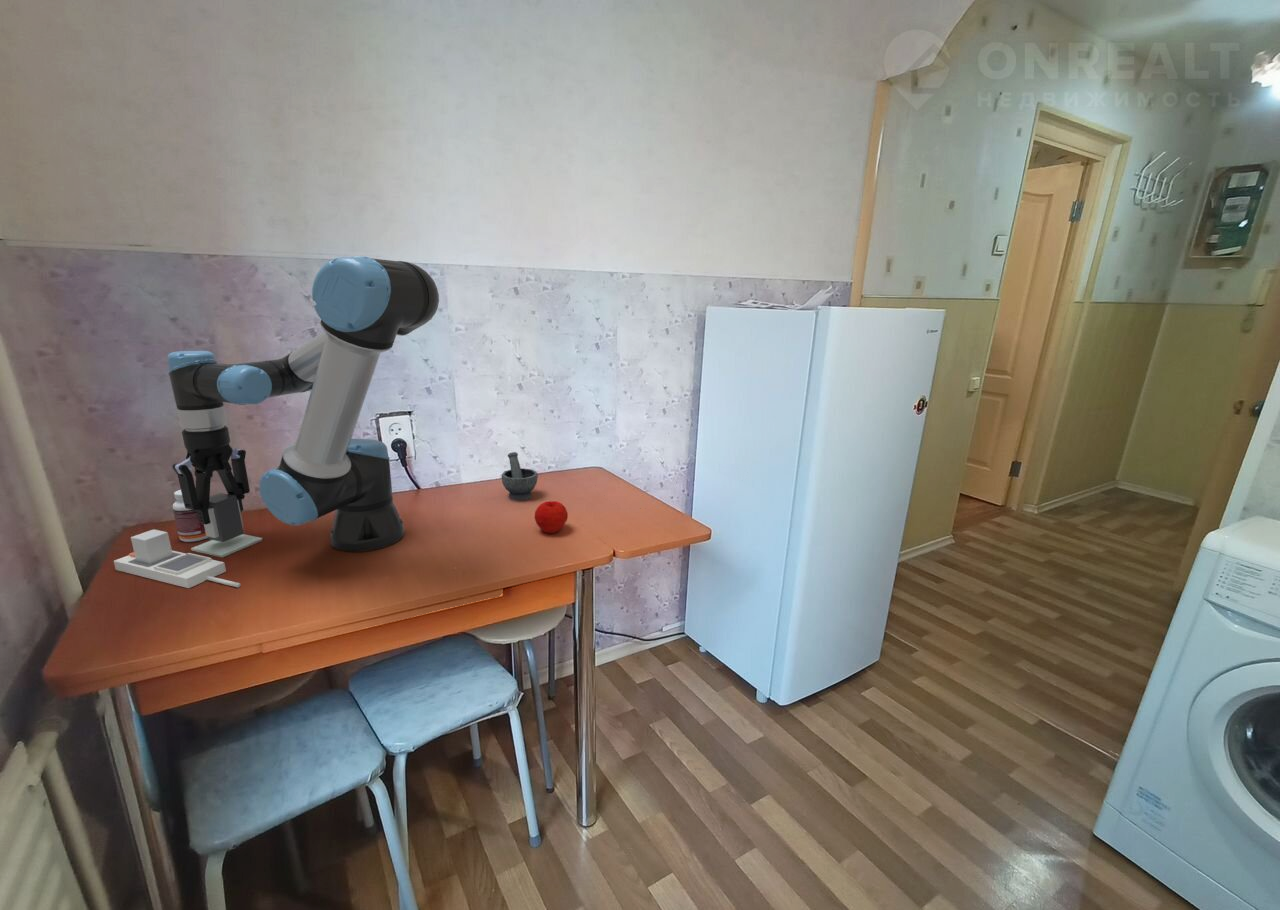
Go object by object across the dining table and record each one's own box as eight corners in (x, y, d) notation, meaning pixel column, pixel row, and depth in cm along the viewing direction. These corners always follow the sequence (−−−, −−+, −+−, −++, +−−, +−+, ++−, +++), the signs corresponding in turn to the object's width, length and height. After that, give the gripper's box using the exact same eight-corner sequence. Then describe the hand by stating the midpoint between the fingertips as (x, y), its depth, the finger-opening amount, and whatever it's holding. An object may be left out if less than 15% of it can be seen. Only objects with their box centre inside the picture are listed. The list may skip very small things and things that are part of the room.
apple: (555, 521, 137) (555, 494, 135) (574, 531, 132) (574, 502, 130) (528, 529, 132) (527, 501, 130) (547, 540, 126) (547, 510, 124)
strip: (256, 578, 106) (250, 545, 104) (220, 596, 99) (212, 561, 97) (155, 554, 114) (148, 523, 112) (116, 569, 107) (107, 537, 105)
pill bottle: (213, 539, 122) (204, 493, 119) (177, 545, 118) (167, 497, 115) (215, 529, 127) (206, 484, 123) (181, 534, 123) (171, 489, 120)
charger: (244, 533, 120) (236, 495, 117) (223, 542, 116) (215, 502, 113) (229, 530, 121) (221, 492, 119) (207, 538, 117) (199, 500, 114)
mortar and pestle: (542, 499, 152) (542, 458, 148) (510, 505, 147) (509, 463, 143) (527, 487, 161) (526, 448, 157) (496, 492, 156) (494, 452, 152)
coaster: (262, 540, 122) (262, 538, 122) (222, 557, 114) (221, 555, 113) (232, 534, 124) (232, 532, 124) (191, 550, 116) (190, 548, 116)
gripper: (233, 417, 121) (251, 514, 127) (143, 435, 104) (168, 545, 111) (259, 420, 119) (275, 519, 125) (170, 439, 102) (195, 551, 109)
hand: (225, 531), depth 118 cm, fingers closed on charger, 5 cm apart
